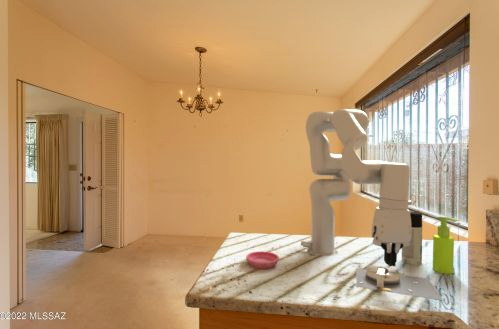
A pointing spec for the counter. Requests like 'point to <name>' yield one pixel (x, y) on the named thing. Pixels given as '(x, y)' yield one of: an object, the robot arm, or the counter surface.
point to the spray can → (414, 241)
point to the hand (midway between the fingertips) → (389, 264)
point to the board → (401, 285)
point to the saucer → (262, 259)
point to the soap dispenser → (443, 248)
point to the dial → (383, 275)
